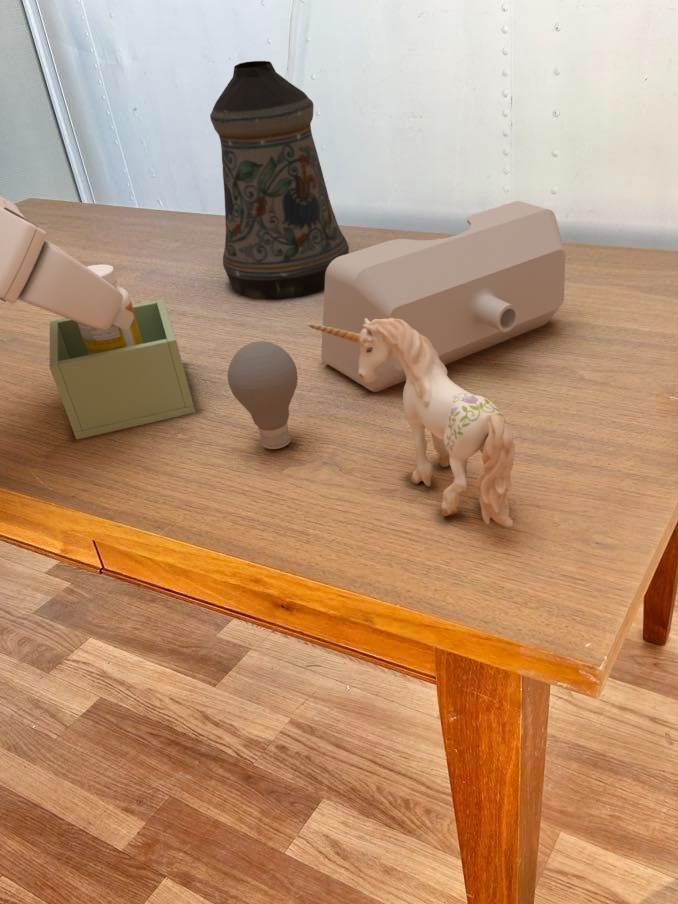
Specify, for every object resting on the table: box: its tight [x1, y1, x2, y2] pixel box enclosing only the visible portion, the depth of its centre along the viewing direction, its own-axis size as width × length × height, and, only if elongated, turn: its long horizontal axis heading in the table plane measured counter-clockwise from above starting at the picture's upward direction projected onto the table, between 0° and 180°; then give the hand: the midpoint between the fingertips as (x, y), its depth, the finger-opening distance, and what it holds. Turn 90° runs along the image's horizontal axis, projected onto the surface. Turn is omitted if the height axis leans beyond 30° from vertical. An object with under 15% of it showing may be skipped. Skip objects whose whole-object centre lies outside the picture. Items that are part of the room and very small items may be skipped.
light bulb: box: [227, 341, 298, 450], centre depth 75 cm, size 6×6×10 cm
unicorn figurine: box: [306, 318, 516, 528], centre depth 66 cm, size 7×20×13 cm, turn 46°
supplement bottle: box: [77, 264, 143, 355], centre depth 82 cm, size 5×5×10 cm
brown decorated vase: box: [209, 60, 350, 301], centre depth 106 cm, size 16×19×25 cm
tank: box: [320, 200, 566, 393], centre depth 86 cm, size 25×16×12 cm, turn 125°
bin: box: [48, 298, 196, 440], centre depth 85 cm, size 12×12×8 cm
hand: (111, 313), depth 82 cm, fingers closed on supplement bottle, 5 cm apart
